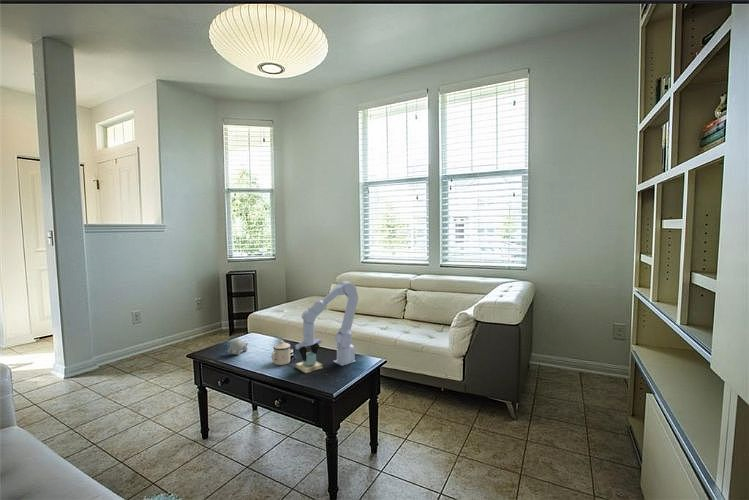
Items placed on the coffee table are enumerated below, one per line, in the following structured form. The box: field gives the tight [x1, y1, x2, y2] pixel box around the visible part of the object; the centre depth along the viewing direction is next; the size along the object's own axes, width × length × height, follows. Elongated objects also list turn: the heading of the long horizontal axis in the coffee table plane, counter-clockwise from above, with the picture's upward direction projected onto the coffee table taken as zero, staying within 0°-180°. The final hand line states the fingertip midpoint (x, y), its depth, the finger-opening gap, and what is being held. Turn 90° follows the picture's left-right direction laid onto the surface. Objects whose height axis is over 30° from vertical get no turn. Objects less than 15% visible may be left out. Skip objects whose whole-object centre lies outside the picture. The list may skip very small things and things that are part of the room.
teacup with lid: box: [271, 340, 292, 366], centre depth 191 cm, size 12×9×12 cm
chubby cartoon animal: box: [226, 338, 249, 356], centre depth 205 cm, size 7×12×8 cm, turn 144°
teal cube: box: [302, 351, 317, 366], centre depth 184 cm, size 5×5×5 cm
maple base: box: [295, 360, 323, 374], centre depth 185 cm, size 10×10×2 cm
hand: (308, 359), depth 184 cm, fingers closed on teal cube, 5 cm apart
